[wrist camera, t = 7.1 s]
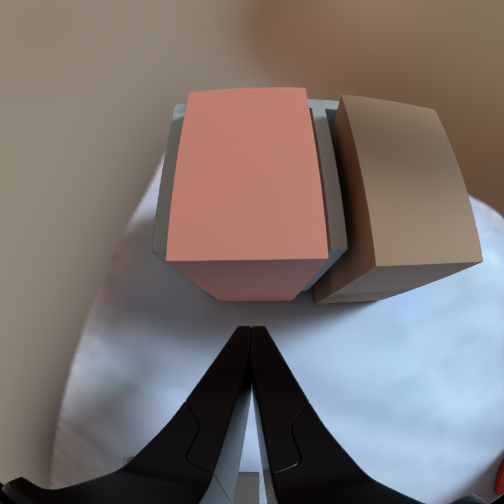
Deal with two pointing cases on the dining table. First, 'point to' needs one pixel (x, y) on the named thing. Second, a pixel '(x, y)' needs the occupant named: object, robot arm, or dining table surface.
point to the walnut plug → (396, 203)
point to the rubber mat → (244, 487)
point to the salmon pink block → (247, 195)
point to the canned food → (500, 481)
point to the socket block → (331, 193)
